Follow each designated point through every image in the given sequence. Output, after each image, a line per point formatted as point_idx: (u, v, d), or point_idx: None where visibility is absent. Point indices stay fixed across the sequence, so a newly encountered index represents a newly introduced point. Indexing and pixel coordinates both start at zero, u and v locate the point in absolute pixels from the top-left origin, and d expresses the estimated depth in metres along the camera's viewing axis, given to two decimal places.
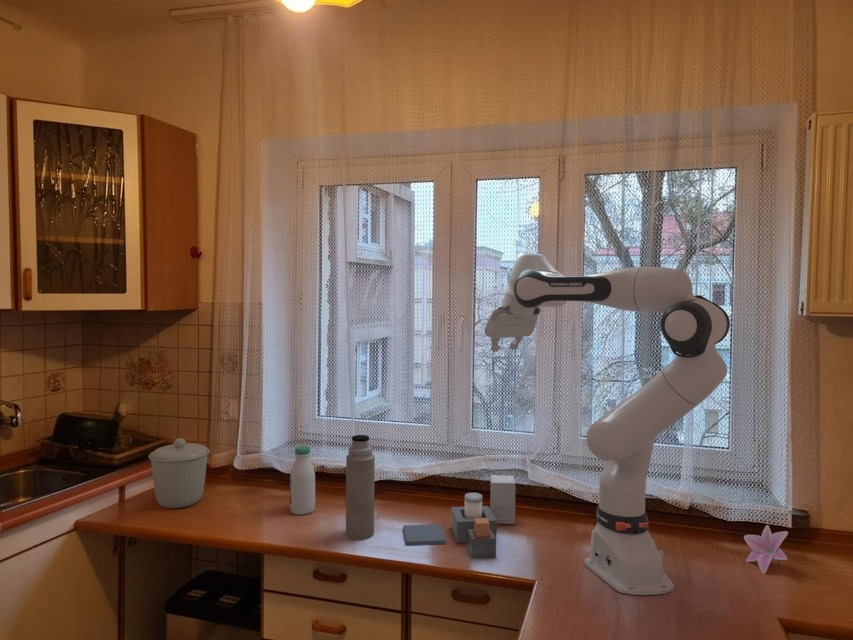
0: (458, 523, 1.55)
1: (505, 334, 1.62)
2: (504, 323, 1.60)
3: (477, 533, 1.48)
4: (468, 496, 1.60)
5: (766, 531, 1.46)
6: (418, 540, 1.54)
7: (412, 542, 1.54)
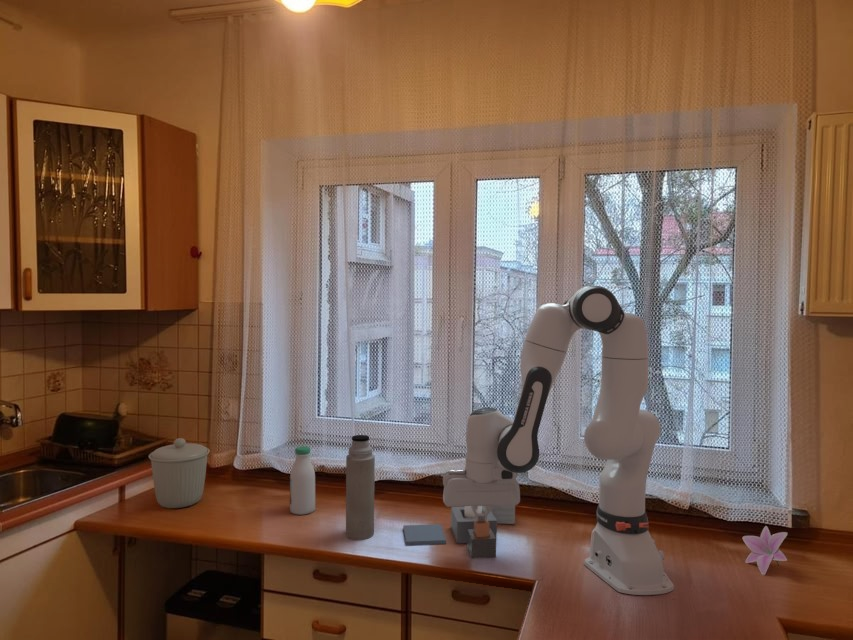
0: (458, 523, 1.55)
1: (466, 502, 1.47)
2: (460, 489, 1.47)
3: (477, 534, 1.48)
4: None
5: (765, 532, 1.46)
6: (418, 540, 1.54)
7: (412, 542, 1.54)
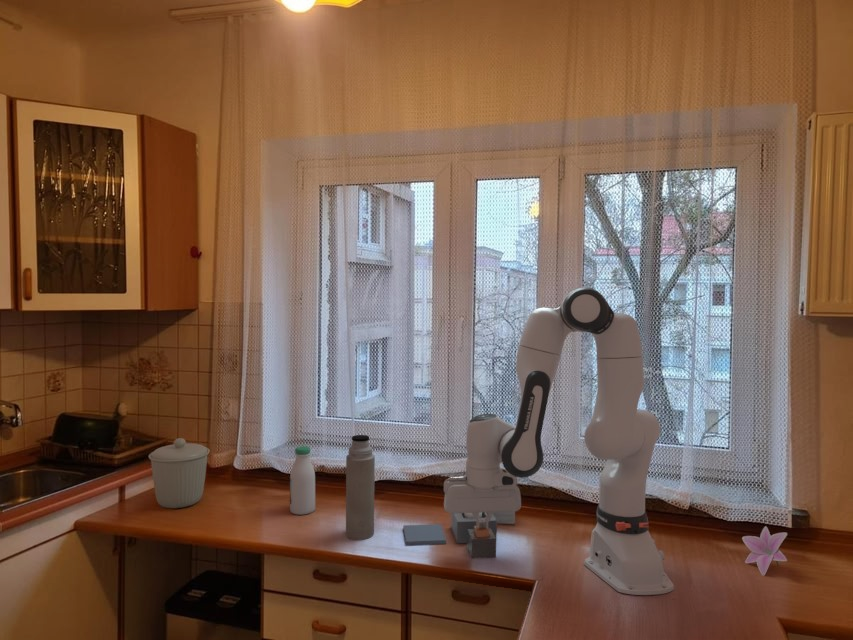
0: (458, 523, 1.55)
1: (467, 508, 1.47)
2: (461, 496, 1.47)
3: None
4: None
5: (764, 533, 1.46)
6: (418, 540, 1.54)
7: (412, 542, 1.54)
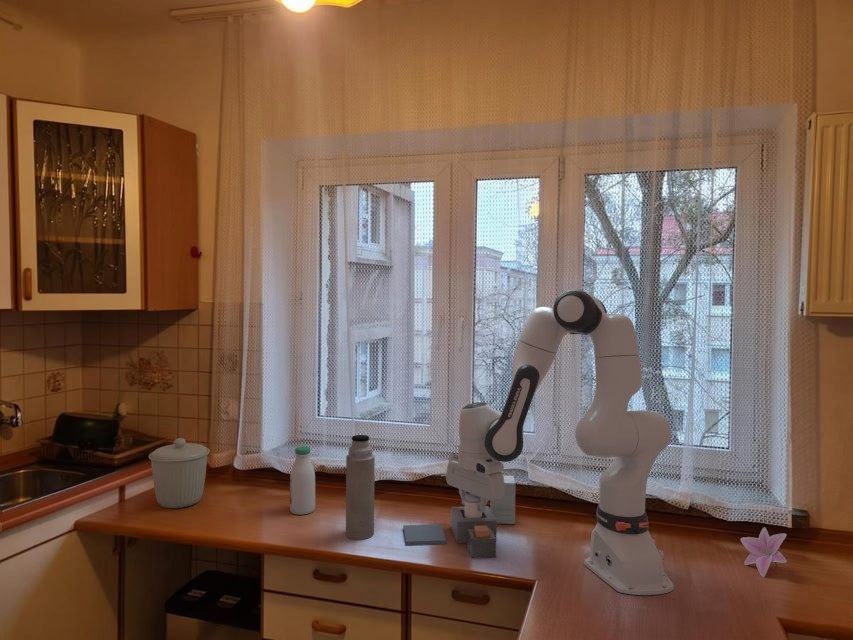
0: (458, 523, 1.55)
1: (458, 484, 1.63)
2: (455, 471, 1.64)
3: None
4: (468, 496, 1.60)
5: (763, 534, 1.45)
6: (418, 540, 1.54)
7: (412, 542, 1.54)
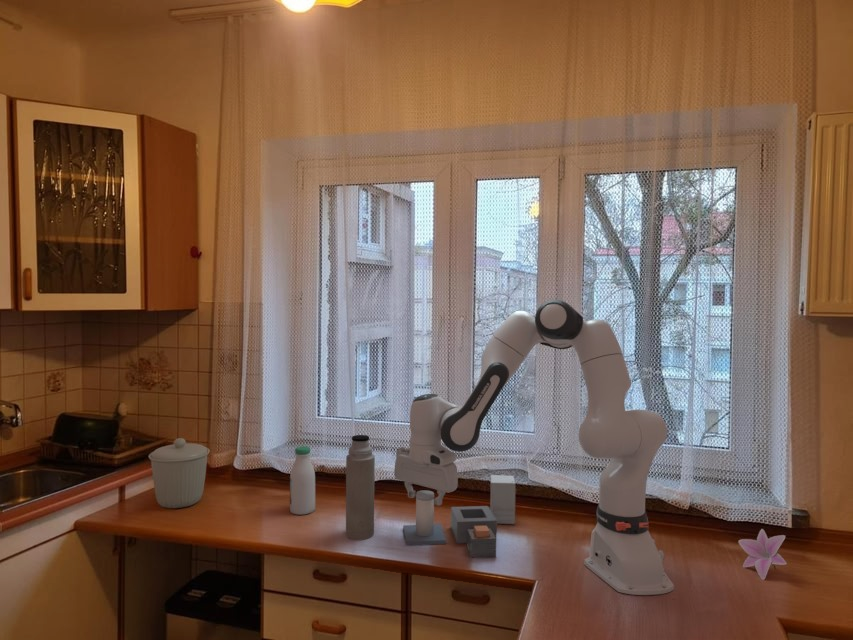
0: (458, 523, 1.55)
1: (409, 478, 1.60)
2: (405, 465, 1.61)
3: None
4: (420, 494, 1.58)
5: (761, 535, 1.44)
6: (418, 540, 1.54)
7: (412, 542, 1.54)
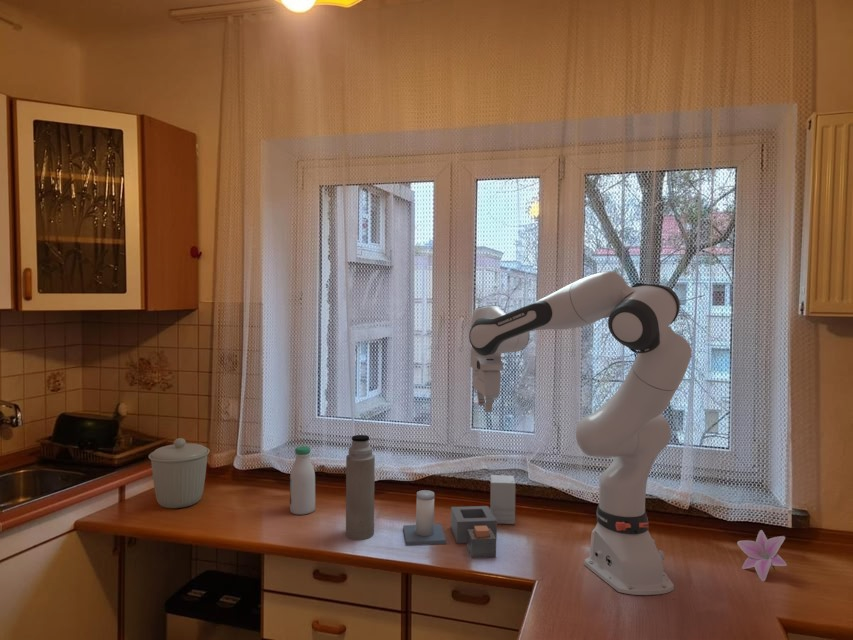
0: (458, 523, 1.55)
1: (476, 386, 1.69)
2: (476, 374, 1.70)
3: None
4: (421, 494, 1.58)
5: (761, 536, 1.43)
6: (418, 540, 1.54)
7: (412, 542, 1.54)
